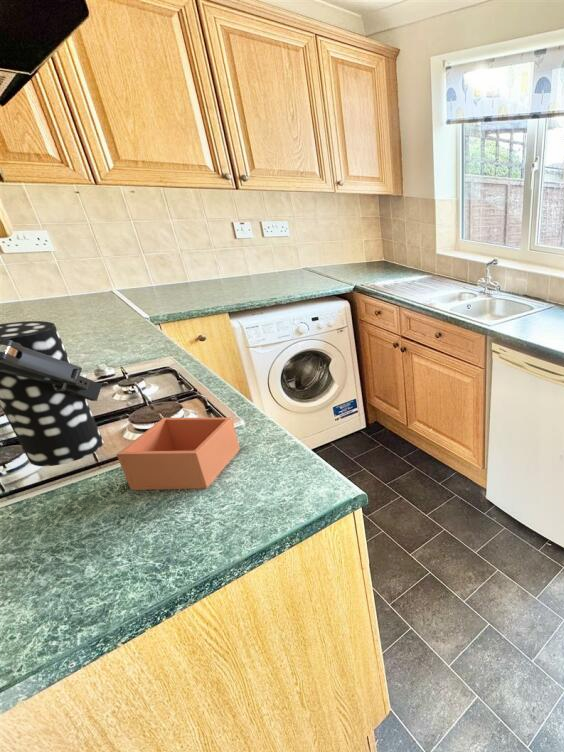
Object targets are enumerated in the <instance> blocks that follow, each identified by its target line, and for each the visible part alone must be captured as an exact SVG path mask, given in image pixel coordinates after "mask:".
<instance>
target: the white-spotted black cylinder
mask: <svg viewBox="0 0 564 752" xmlns="http://www.w3.org/2000/svg"><path fill="white" fill-rule="evenodd" d="M0 339H8V340H11V341H13V342H15V343H17V344H19V345H21V346H23V347H25V348H28V349H31V350H34V351H36V352H39V353H42V354H45V355H48V356H51V357H53V358H56V359H59V360H62V361H65V362H67V363H70V364H72V363H71V360H70V358H69V355H68V353H67V351H66V348H65V346H64V344H63V341H62V339H61V336H60V334H59V332H58V329H57V326H56V324H55V323H54V322H51V321H44V320H35V321H34V320H29V321H27V320H26V321H15V322H5V323H0ZM54 386H55V384H51V383H46V382H42V381H38V380H34V379H30V378H26V377H21V376H17V375H13V374H9V373H5V372H1V371H0V407H1V409H2V412H3V414H4V415H5V417H6V419H7V421H8V423H9V425H10V426H11V429H12V431H13V433H14V434H15V437H16V438H17V440H18V442H19V444H20V446H21V448H22V451H23V452H24V453H25V456H26V457H27V459H28V462H29V463H30V464H31V465H32V466H36V467H53V466H54V467H55V466H60V465H61V466H62V465H65V464H68V463H72V462H76V461H79V460H81V459H84V458H86V457H88V456H90V455H92V454H94V453H96V452H98V450H100V449H101V448H102V447H103V445H104V439H103V437H102V434H101V432H100V430H99V427H98V425H97V423H96V420H95V418H94V415H93V413H92V410H91V408H90V405H89V403H88V401H87V399H85V398H82V397H80V396H77V395H74V394H71V393H69V392H66V391H58V390H56V389H57V388H55V387H54Z"/></svg>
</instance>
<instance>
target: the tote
mask: <svg viewBox="0 0 564 752" xmlns="http://www.w3.org/2000/svg"><path fill="white" fill-rule="evenodd" d="M240 450H241V447H240V443H239V440H238V436H237V433H236V428H235V425H234V421H233V418H232V417H163V418H161V419H160V420H158V421H157V422H156V423H155V424H154V425H152V426H151V427H150V428H149V429H147V430H146V431H145V432H143V433H142V434H140V435H139V436H138V437H137V438H136V439H134V440H132V442H130V443H129V444H127V445H126V446H125V447H124V448H122V449H121V450H119V451H118V453H116V456H117V459H118V462H119V464H120V466H121V469H122V472H123V474H124V476H125V479H126V481H127V483H128V486H129V489H130V490H131V491H141V490H143V491H144V490H146V491H147V490H183V489H184V490H186V489H187V490H190V489H208V488H209V487H210V486H211V484H212V483H213V482H214V481H215V480H216V478H217V477H218V476H219V475H220V474H221V473H222V471H223V470H224V469H225V468H226V467H227V466H228V464H229V463H230V462H231V461H232V460H233V458H234V457H235V456H236V455H237V454H238V452H239V451H240Z"/></svg>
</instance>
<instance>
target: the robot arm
mask: <svg viewBox="0 0 564 752" xmlns="http://www.w3.org/2000/svg"><path fill="white" fill-rule="evenodd" d="M82 370H83V367H81V366H80V365H79V366H78V365H76V364H74V363H71V364H70V363H67V362H65V361H62V360H59V359H56V358H53V357H51V356H48V355H45V354H42V353H39V352H36V351H34V350H31V349H28V348H25V347H23V346H21V345H19V344H17V343H15V342H13V341H11V340H8V339H0V371H1V372H5V373H9V374H13V375H17V376H21V377H26V378H30V379H34V380H38V381H42V382H46V383H51V384H55V386H54V387H55V388H57V389H56V390H58V391H66V392H69V393H71V394H74V395H77V396H80V397H82V398H85V399H86V400H88V401H90V402H98V399H99V395H100V392H101V389H102V386H103V384H102V383H99V382H97V381H95V380H92V379H89V378H87V377H85V376H82V375H81V373H82Z"/></svg>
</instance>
